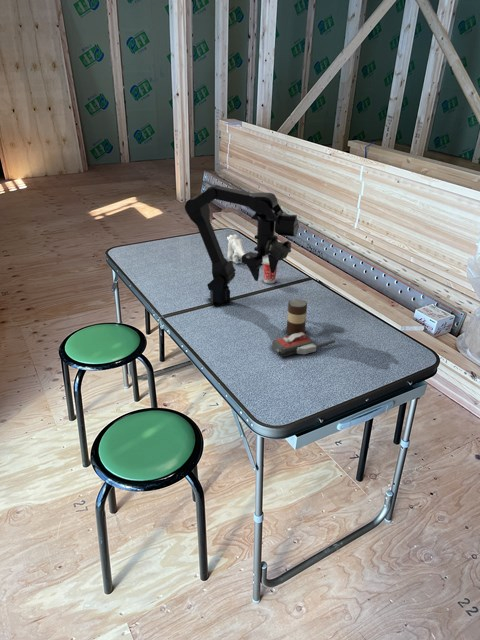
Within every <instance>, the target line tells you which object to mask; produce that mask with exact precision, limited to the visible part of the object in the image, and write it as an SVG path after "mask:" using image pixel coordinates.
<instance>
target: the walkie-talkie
mask: <svg viewBox="0 0 480 640" xmlns="http://www.w3.org/2000/svg"><path fill="white" fill-rule="evenodd" d="M335 343H336V340H335V339H332V340H329V341H326V342H322V343H319V344H314V341H313V339H312V338H311V337H310V336H309V335H308V334H305V333H303V332H299V333H295V334H292V335H287V336H283V337H280V338H275V339H272V341H271V349H272V350H274V351H275V352H276V353H277V355H278V356H280V357H283V358H284V357H287V356H290V355H294V354H297V355H307V354H311V353H315V352H317V350H318V349H320V348H323V347H326V346H329V345H332V344H335Z"/></svg>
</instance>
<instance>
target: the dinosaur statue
mask: <svg viewBox="0 0 480 640" xmlns="http://www.w3.org/2000/svg"><path fill="white" fill-rule="evenodd" d="M226 239H227V242H228V244H227V253H226V255H227V261H228V262H229V261H232V262H233V264H239V261H240V262H241V263H242V256H243V255H244V254H246V253H247V252H246V250H245V248H244V247H243V240H242V239H241V238H240V236H239V235H237V234H236V233H234V234H229V236H226Z"/></svg>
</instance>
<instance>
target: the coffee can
mask: <svg viewBox="0 0 480 640" xmlns="http://www.w3.org/2000/svg"><path fill="white" fill-rule="evenodd" d="M307 311H308V303H307V301H306V300H303V299H300V298H293V299H291V300H289V301H288V304H287V315H286V317H287V318H286V334H287V335H288V336H290V335H292V334H295V333H299V332H303V333H304V334H305V332H306V324H307V323H306V321H307Z"/></svg>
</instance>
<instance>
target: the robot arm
mask: <svg viewBox="0 0 480 640" xmlns="http://www.w3.org/2000/svg"><path fill="white" fill-rule="evenodd" d="M215 200H218V201H222V202H226V203H231V204H235V205H240V206H244V207H246V208H248V209H250V210H251V211H253V212H255V213H254V214H253V215H252V216H251V217H250V218H251V220H256V221H257V223H256V225H257V226H256V227H257V228H256V229H257V231H256V232H257V233H256V234H255V235H254V240H256V246H254V248H253V250H254V251H255V252H253V251H248V252H246V254H244V255H243V256H242V262H241V263H242V264H243V265H246V266H247V268H248V269H249V271H250V273H251V276H252V277H253V280H254V281H255V282H258V281H259V277H260V268H261V267H263V259H264V258H266V257H267V258H268V259H269V265H270V270H271V273H274V272H275V269H276V266H277V267H278V264H279V262H280V261H282V260H284V259H287V257H288V255H289V253H291V252H292V243H291V242H290V241H289V240H287V241H284V242H283V241H279V237H278V236H284V237H285V236H286V237H293V238H296V237H297V236H298V233H299V226H300V224H299V219H298V215H297V214H286V213H285V212H284V210H283V208H282V207H281V205H280V204H279V203H278V202H279V201H278V198H277V196H276V195H275V194H274V193H272V192H262V191H260V192H248V191H244V190H240V189H235V188H231V187H226V186H223V185H222V186H221V185H218V184H213V185H210V186H209V187H207V188H206V190H204V192H202V193H200V194H199V195H195V196H194V197H192V198H190V199H188V200H187V201H186V202H185V204H184V211H185V213H186V214H187V217H188V219H190V220H191V221H192V222H193V224H195V225H196V227H197V229H198V232H199V234H200V237H201V239H202V242H203V244H204V247H205V249H206V253H207V254H208V257H209V259H210V263H211V275H212V280H211V281H209V282H208V283H207V284H206V286H207V289H208V291H209V298H208V301H209V302H210V304H211V305H212V306H213V307H222V306H226V305H227V306H228V305H231V304H232V302H231V301H230V300H231V289H230V286H229V285H230V284H231V282H232V281H233V280H234V279H235V277H236V271H237V269H236V268H235V266H234V262H233V261H229V260H228V259H226V258H225V256H224V253H223V250H222V247H221V246H220V243H219V240H218V238H217V235H216V232H215V230H214V228H213V224H212V222H211V219H210V217H211V209H210V206H209V204H211V203H212V202H213V201H215ZM276 234H277V235H276Z"/></svg>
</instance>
